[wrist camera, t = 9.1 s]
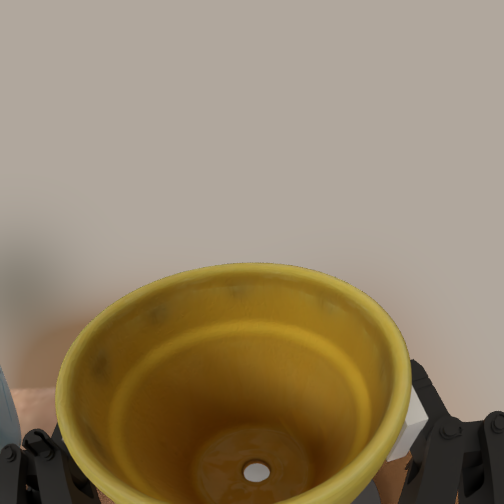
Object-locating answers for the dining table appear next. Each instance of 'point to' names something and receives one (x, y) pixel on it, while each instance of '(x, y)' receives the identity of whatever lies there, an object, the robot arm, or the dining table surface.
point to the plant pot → (235, 389)
